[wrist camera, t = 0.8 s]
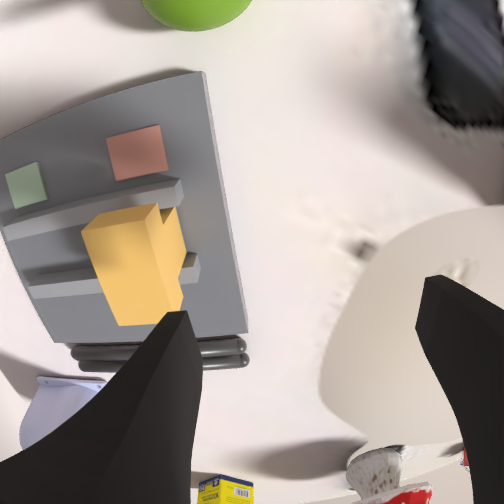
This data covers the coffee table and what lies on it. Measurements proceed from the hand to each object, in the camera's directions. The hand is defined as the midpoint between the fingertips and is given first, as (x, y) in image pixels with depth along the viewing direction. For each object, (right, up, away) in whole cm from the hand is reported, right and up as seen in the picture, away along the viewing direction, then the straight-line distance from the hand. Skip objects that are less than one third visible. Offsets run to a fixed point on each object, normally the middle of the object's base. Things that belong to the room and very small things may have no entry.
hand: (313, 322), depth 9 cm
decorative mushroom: (+15, -26, +26) cm, 40 cm away
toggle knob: (-7, +3, +8) cm, 11 cm away
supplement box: (-6, -32, +28) cm, 43 cm away
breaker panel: (-11, +2, +11) cm, 15 cm away
